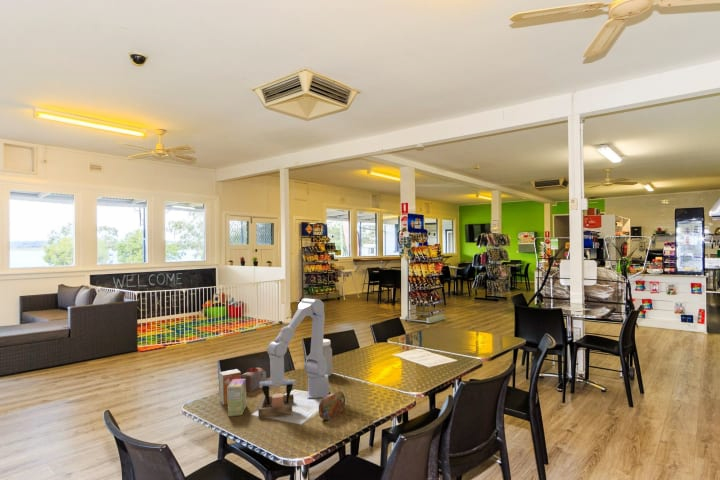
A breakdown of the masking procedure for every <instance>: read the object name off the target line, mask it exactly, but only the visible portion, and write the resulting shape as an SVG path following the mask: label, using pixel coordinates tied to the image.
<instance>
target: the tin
mask: <svg viewBox="0 0 720 480" xmlns="http://www.w3.org/2000/svg"><path fill="white" fill-rule="evenodd" d="M345 403H346V398H345V394H344V393H343V391H337V390H335V391H333V392H331V393H330V394H329V395H328V396H326V397H322V398H321V400H320V402H319V404H318V415H319V417H320V418H321V419H322V420H326V421H330V420H332V419H333V418H335V417H336V416H338V415H339V414H340V413H342V412H343V410H344V409H345Z"/></svg>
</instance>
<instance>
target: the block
mask: <svg viewBox="0 0 720 480" xmlns="http://www.w3.org/2000/svg"><path fill="white" fill-rule="evenodd" d="M284 395H285V393H281V392H280V393H272V395H271V396H272V405H271V407H281V406H285V404H284Z"/></svg>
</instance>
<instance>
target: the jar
mask: <svg viewBox="0 0 720 480" xmlns="http://www.w3.org/2000/svg"><path fill="white" fill-rule="evenodd" d="M331 344H332V343H331V339H328V338H323V350H322V354H323V356H324V357H325V358H326V364H327V372H326V374H325V375H328V377H331V376H332V374H333V370H334V369H333V366H334V365H333V348H332V347H331V346H332V345H331Z"/></svg>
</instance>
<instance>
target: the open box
mask: <svg viewBox="0 0 720 480" xmlns="http://www.w3.org/2000/svg"><path fill="white" fill-rule="evenodd" d="M272 396H273V395H269V397H270V404H269V405H268V404H267V400H266V397H265V395H263V396H262V397H261V401H260V404H259V407H258V409H257V411H258V413H257V414H258V419H265V418H266V419H267V418H276V417H290V416H293V406H292V405H288V404H294V402H295V400H294V399H295V398H294V394H291V393H290V395H289V399H288V404H286V398H287V394H284V406H281V407H272ZM266 406H267V407H266ZM268 406H269V407H268ZM270 406H271V407H270Z"/></svg>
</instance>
